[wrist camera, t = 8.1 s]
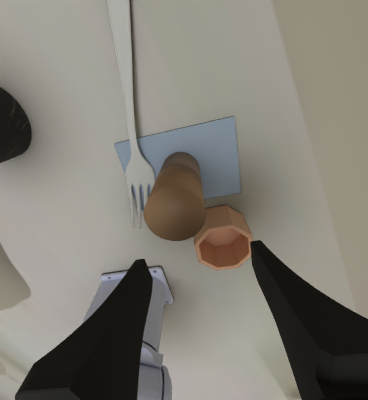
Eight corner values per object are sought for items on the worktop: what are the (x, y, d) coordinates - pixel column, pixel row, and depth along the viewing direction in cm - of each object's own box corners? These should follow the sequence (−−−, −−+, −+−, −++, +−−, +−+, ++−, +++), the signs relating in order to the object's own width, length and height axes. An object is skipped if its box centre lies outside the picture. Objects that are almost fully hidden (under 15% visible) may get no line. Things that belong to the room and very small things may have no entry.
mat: (140, 209, 23) (139, 210, 23) (115, 143, 19) (113, 144, 19) (240, 191, 22) (241, 192, 21) (233, 116, 18) (234, 116, 18)
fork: (132, -100, 12) (123, -130, 10) (159, 220, 23) (157, 229, 22) (82, -98, 12) (66, -127, 11) (133, 220, 23) (129, 229, 22)
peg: (168, 191, 21) (155, 245, 13) (156, 157, 20) (134, 196, 12) (203, 183, 21) (211, 234, 13) (194, 147, 19) (197, 180, 11)
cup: (199, 248, 26) (201, 272, 22) (190, 211, 23) (190, 231, 19) (245, 242, 25) (254, 265, 21) (241, 202, 22) (251, 221, 19)
